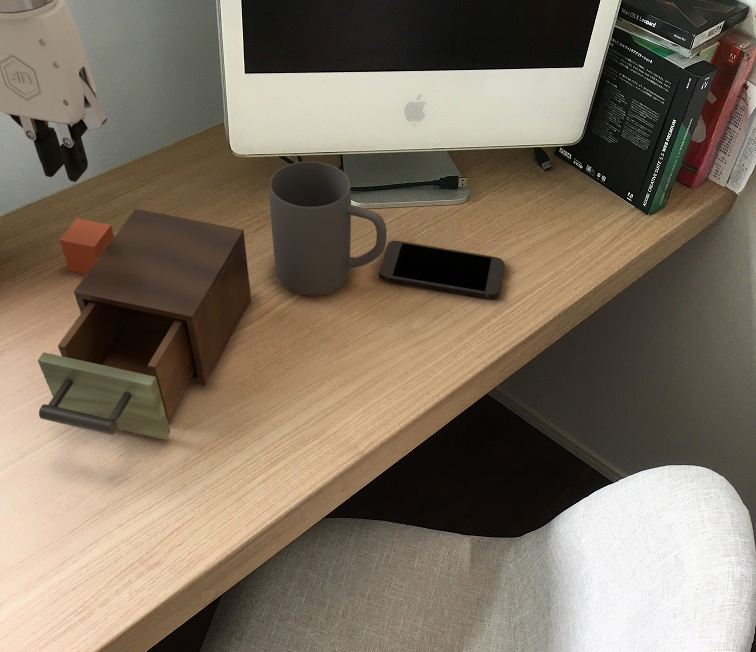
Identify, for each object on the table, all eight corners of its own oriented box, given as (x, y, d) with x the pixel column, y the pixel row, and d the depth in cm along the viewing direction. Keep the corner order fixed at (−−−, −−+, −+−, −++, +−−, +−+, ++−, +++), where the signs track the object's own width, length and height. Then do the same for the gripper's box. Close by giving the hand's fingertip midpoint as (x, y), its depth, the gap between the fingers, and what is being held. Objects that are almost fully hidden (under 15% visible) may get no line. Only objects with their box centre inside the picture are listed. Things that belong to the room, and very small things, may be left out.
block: (69, 271, 94) (59, 239, 91) (86, 249, 97) (76, 217, 93) (103, 278, 94) (94, 246, 90) (119, 255, 96) (111, 224, 93)
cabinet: (205, 385, 84) (192, 316, 77) (97, 361, 86) (73, 291, 78) (251, 299, 93) (243, 229, 85) (151, 279, 94) (135, 208, 86)
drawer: (145, 477, 76) (128, 424, 69) (36, 451, 77) (10, 397, 71) (214, 350, 86) (205, 293, 80) (118, 329, 88) (101, 272, 81)
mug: (263, 287, 94) (255, 197, 84) (291, 243, 99) (286, 153, 89) (371, 314, 92) (375, 225, 82) (394, 267, 97) (400, 179, 88)
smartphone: (498, 301, 94) (500, 295, 94) (376, 280, 96) (377, 274, 95) (505, 263, 99) (506, 257, 98) (388, 244, 100) (388, 238, 99)
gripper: (-94, -14, 69) (-18, 178, 84) (72, 15, 68) (120, 205, 83) (-47, -46, 74) (17, 142, 89) (111, -20, 72) (149, 167, 87)
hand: (66, 171), depth 85 cm, fingers closed
